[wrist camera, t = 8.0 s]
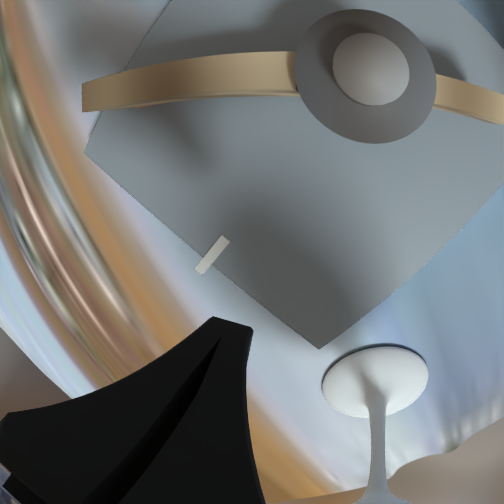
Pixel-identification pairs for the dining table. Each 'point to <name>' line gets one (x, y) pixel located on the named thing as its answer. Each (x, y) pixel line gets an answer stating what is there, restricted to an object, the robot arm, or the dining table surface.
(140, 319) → the dining table surface
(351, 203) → the grey flat slab
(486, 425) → the dining table surface
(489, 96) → the curved bar with hub
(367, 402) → the wineglass
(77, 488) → the robot arm
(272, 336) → the dining table surface
